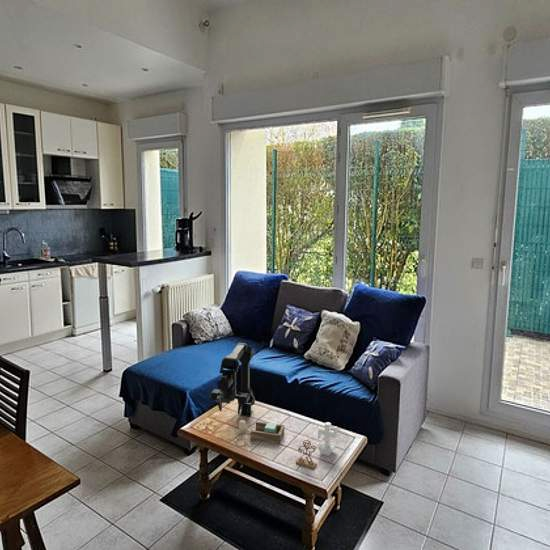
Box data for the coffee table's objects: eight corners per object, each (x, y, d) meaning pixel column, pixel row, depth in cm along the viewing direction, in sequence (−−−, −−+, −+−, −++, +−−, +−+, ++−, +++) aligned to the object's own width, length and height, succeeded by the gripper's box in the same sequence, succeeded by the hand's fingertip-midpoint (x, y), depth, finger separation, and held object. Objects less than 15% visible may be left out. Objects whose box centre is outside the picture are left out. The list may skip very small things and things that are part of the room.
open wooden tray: (256, 429, 220) (256, 421, 219) (284, 433, 216) (284, 425, 216) (250, 439, 210) (250, 431, 209) (279, 444, 206) (280, 435, 206)
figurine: (320, 445, 206) (321, 417, 203) (338, 451, 201) (340, 422, 199) (314, 453, 200) (315, 423, 197) (333, 459, 195) (334, 429, 193)
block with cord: (240, 429, 219) (240, 418, 218) (276, 435, 214) (276, 424, 213) (237, 434, 214) (237, 423, 213) (274, 440, 210) (274, 429, 209)
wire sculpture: (295, 463, 191) (296, 439, 189) (298, 459, 194) (299, 435, 192) (313, 469, 187) (314, 444, 185) (316, 465, 190) (317, 440, 188)
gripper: (205, 386, 198) (205, 417, 201) (243, 391, 194) (242, 423, 197) (214, 377, 209) (214, 407, 211) (250, 382, 205) (249, 412, 207)
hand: (229, 412), depth 206 cm, fingers open, 9 cm apart
